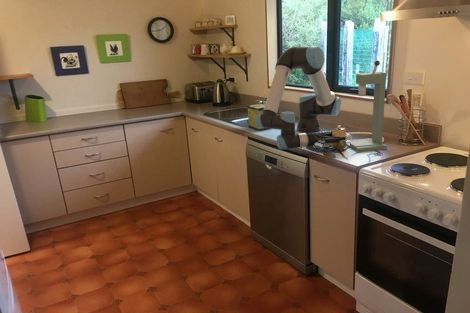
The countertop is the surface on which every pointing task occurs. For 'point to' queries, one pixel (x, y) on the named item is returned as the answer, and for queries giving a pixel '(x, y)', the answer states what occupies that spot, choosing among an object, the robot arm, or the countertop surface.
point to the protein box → (253, 113)
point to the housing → (336, 133)
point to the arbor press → (378, 110)
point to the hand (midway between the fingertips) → (347, 135)
